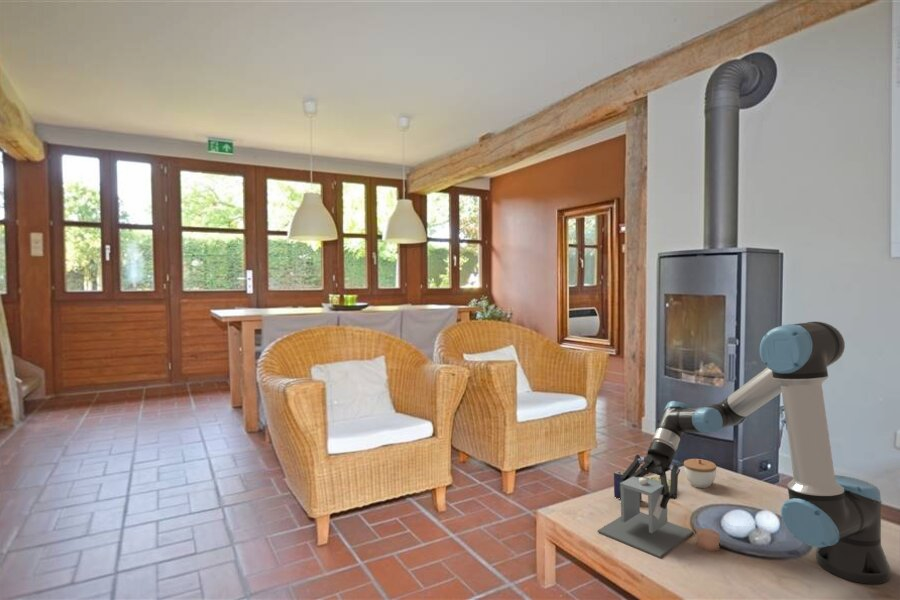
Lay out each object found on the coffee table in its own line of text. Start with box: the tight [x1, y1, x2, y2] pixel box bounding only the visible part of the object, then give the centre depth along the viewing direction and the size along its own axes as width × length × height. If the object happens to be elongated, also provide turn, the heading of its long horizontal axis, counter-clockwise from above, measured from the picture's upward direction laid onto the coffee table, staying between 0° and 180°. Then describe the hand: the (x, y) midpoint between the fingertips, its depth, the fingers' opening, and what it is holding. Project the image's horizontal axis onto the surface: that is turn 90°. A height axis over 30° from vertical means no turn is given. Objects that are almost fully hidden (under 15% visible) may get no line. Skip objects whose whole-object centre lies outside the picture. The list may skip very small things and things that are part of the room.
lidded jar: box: [683, 458, 717, 489], centre depth 187 cm, size 11×11×9 cm
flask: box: [613, 468, 643, 503], centre depth 178 cm, size 9×3×11 cm, turn 61°
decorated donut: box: [647, 476, 671, 493], centre depth 184 cm, size 10×11×4 cm
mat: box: [597, 511, 694, 559], centre depth 155 cm, size 20×20×1 cm
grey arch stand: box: [620, 476, 668, 533], centre depth 155 cm, size 10×9×13 cm
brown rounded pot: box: [695, 528, 721, 552], centre depth 146 cm, size 6×6×4 cm
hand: (638, 511), depth 153 cm, fingers closed on grey arch stand, 10 cm apart
